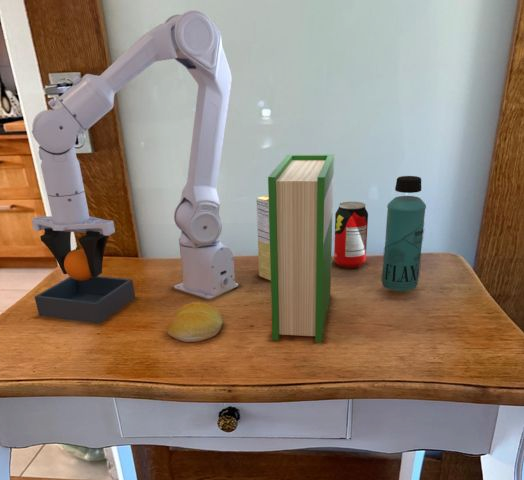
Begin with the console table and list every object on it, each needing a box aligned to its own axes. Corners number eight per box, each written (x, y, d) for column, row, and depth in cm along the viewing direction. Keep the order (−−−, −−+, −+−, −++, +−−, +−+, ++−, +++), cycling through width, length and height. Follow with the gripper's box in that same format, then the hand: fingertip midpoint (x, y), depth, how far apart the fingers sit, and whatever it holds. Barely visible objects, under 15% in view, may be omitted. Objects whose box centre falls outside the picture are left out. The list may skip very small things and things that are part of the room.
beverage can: (364, 258, 115) (367, 200, 109) (366, 269, 109) (369, 208, 103) (333, 259, 115) (335, 201, 110) (334, 269, 110) (336, 208, 104)
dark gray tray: (135, 299, 100) (132, 279, 98) (100, 325, 90) (96, 303, 89) (78, 292, 103) (74, 273, 102) (39, 317, 94) (34, 296, 92)
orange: (106, 278, 95) (100, 245, 92) (79, 288, 91) (72, 254, 88) (87, 272, 98) (81, 240, 95) (61, 281, 94) (54, 249, 92)
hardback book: (321, 342, 82) (324, 177, 71) (272, 339, 84) (268, 177, 72) (330, 296, 98) (334, 154, 86) (288, 295, 99) (287, 154, 88)
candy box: (292, 265, 113) (291, 189, 105) (306, 270, 110) (306, 192, 102) (258, 276, 108) (254, 197, 100) (272, 282, 105) (269, 200, 98)
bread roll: (162, 343, 84) (158, 319, 82) (180, 318, 92) (177, 295, 90) (214, 345, 83) (212, 321, 81) (228, 320, 90) (226, 297, 88)
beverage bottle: (376, 297, 97) (384, 180, 87) (384, 283, 102) (392, 172, 93) (414, 301, 94) (427, 181, 85) (420, 287, 100) (432, 173, 90)
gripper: (11, 196, 86) (31, 278, 93) (90, 200, 82) (105, 285, 88) (40, 186, 92) (58, 264, 99) (115, 189, 88) (129, 270, 94)
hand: (82, 273), depth 94 cm, fingers closed on orange, 5 cm apart
